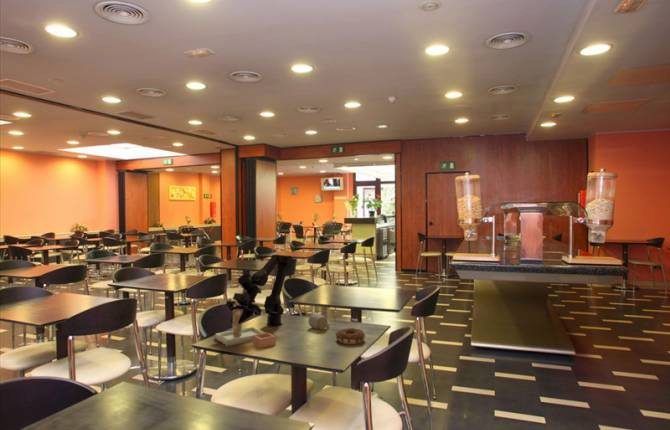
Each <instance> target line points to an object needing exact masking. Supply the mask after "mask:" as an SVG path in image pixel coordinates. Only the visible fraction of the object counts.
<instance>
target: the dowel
mask: <svg viewBox="0 0 670 430" xmlns="http://www.w3.org/2000/svg"><path fill="white" fill-rule="evenodd" d="M241 315H242V309H234V310H233V323H232V330H233V337H241V329H242V323H240V324H238V321H239V319H240V317H241Z"/></svg>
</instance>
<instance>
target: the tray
mask: <svg viewBox="0 0 670 430" xmlns="http://www.w3.org/2000/svg"><path fill="white" fill-rule="evenodd" d="M262 333H266V332H265V331H263V330H261V329H259V328H256V327H255V326H251V327H250V326H249V327H244V328H241V337H233V329H232V330H227V331H222V332H216V333H215V339H216V341H219V342H220V343H221V342H222V343H221V344H223V345H224V344H225V346H226V347H230V346H235V345H239V344H246V343H249V342H253V335H257V334H262Z"/></svg>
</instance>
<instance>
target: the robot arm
mask: <svg viewBox="0 0 670 430" xmlns="http://www.w3.org/2000/svg"><path fill="white" fill-rule="evenodd" d="M293 263H294V258H293V257H292V256H291V255H284V254H275V253H274V254H272V255H271V257H270V258H269V260H268V261H267V262H266V263H265V265H264V266H263V267H261V269H260V270H258V271H256V272H254V273H253V274H252V275H251V274H250V273H248V272H245V273H244V274H242V275H241V276H240V277H239V278H238V279H237V282H238V284H239V285H240V287H241V288H242V289H243V290H244V291H245V292H243V293H238V292H234V294H233V298H232V300H227V301H226V302H225V306H226V307H227V309H228V310H229V311H230V312H231V319H230V323H232V324H233V310H234V309H241V310H242V312H241V317H240V319H239V321H238V324H240V323H241V324H242V323H243V322H244V321H247V319H249V318H251V317H253V316H254V315H255V316H261V313H262V309H261V307H260V306H259V305H258V304H254V303H256V300H255V299H256V297H257V296H258V294H262V290H261V289H262V288H261V287H264V286H265V285H266V284H267V282H268V281H269V276H270V274H271V273H272V272H273V270H274V269H275V268H276V267H277V271H276V275H275V278H274V283H273V286H272V289H271V292H270V295H267V296H265V300H264V302H263V303H264V304H263V305H264V306H263V307H264V310H265V311H264V312H265V314H267V315H268V316H266V317H267V320H266V322H267V323H266V325H268V326H270V327H278V326H282V325H283V323H282V315H283V314H284V311H285V309H284V308H283V306H282V300H281V294H282V289H283V286H284V282H285V279H286V274H287V272H288V271H289V270H290V269H291V268H292V265H293ZM260 286H261V287H260ZM235 301H236V302H235Z"/></svg>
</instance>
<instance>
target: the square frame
mask: <svg viewBox="0 0 670 430" xmlns="http://www.w3.org/2000/svg"><path fill="white" fill-rule="evenodd" d="M252 344H253V345H255V346H257V347H258V348H260V349H262V348H266V347H272V346H276V336H275V334H274V335H273V334H272V333H270V332H265V333H262V334H257V335H253V341H252Z"/></svg>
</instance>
